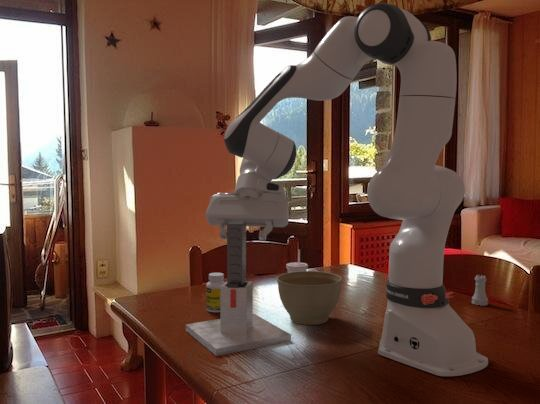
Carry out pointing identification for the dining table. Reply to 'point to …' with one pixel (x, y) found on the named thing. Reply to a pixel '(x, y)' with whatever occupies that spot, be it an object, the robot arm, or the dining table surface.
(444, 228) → the robot arm
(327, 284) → the planter bowl
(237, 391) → the dining table surface
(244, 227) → the post
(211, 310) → the supplement bottle
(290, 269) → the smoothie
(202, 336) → the stand
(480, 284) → the rook chess piece
